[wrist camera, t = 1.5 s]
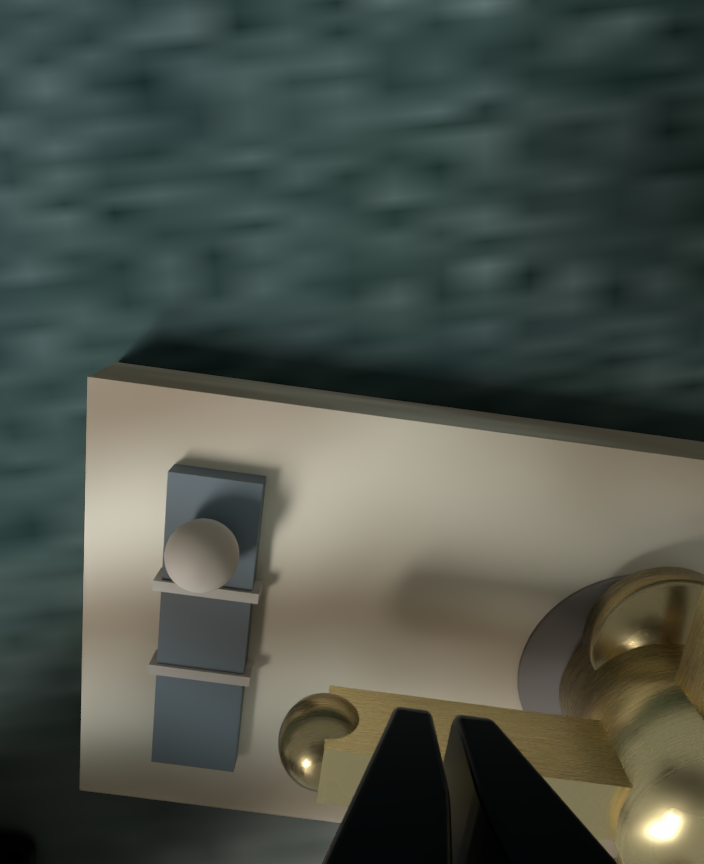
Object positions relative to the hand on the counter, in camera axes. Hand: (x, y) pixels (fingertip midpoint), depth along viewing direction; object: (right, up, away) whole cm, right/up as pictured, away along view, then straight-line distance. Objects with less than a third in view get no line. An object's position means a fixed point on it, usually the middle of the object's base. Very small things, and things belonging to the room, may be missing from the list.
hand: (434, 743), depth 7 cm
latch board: (+4, -2, +13) cm, 14 cm away
